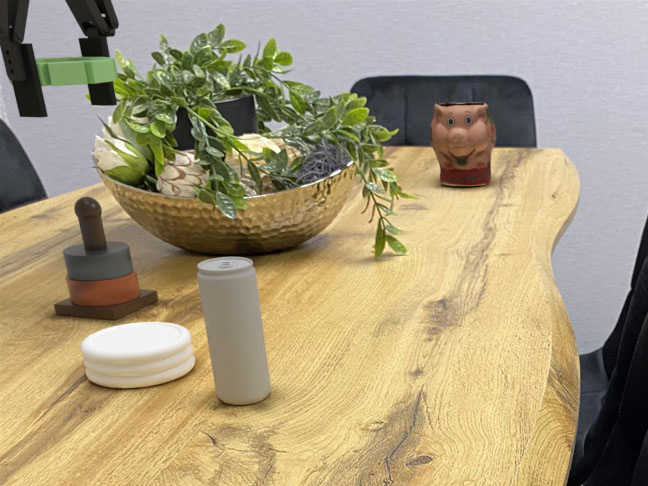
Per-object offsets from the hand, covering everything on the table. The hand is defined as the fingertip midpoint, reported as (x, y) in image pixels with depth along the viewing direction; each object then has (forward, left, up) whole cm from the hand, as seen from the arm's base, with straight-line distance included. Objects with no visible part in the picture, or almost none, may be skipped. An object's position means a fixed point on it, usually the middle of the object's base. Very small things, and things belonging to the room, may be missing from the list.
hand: (70, 110), depth 99 cm
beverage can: (+28, -18, -22) cm, 39 cm away
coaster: (+15, -15, -22) cm, 30 cm away
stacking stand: (-2, +2, -22) cm, 22 cm away
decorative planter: (+11, +88, -22) cm, 91 cm away
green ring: (0, 0, +3) cm, 3 cm away
